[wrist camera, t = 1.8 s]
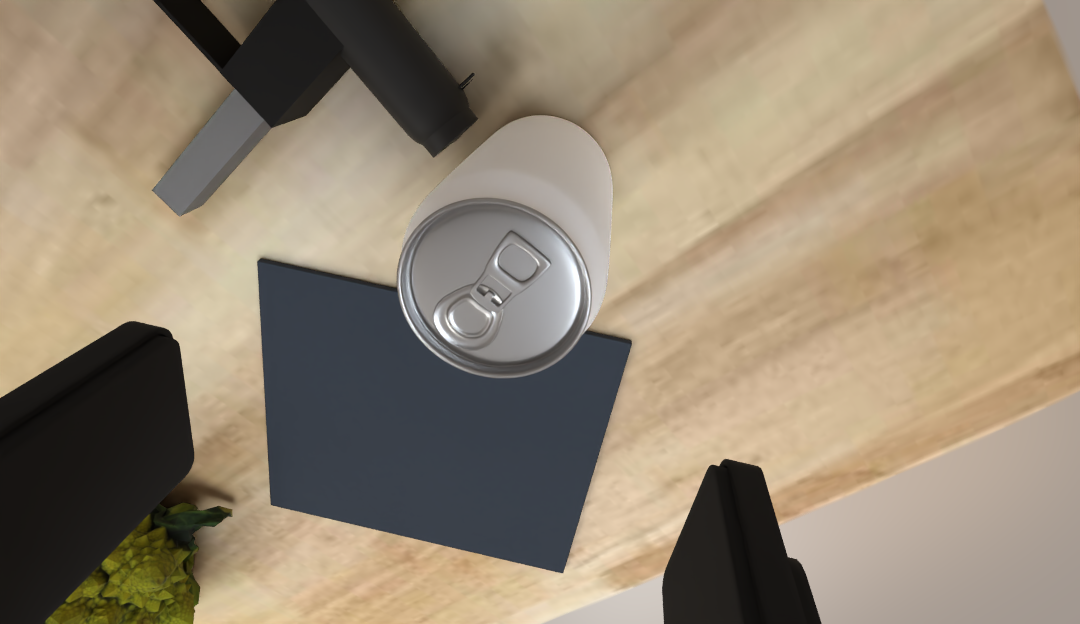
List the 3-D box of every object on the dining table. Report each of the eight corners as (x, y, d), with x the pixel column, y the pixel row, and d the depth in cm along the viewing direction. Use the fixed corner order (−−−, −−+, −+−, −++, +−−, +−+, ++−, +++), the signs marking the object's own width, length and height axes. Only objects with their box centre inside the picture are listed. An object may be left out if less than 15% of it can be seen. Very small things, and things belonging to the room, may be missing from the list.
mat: (273, 500, 39) (270, 505, 39) (260, 258, 31) (257, 260, 30) (563, 568, 38) (562, 573, 38) (631, 340, 30) (631, 343, 30)
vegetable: (220, 503, 34) (-4, 805, 27) (292, 542, 47) (157, 750, 40) (20, 394, 36) (-239, 649, 29) (145, 461, 49) (-10, 646, 42)
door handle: (261, 311, 29) (492, 106, 22) (-114, -45, 24) (41, -466, 17) (296, 282, 32) (511, 93, 25) (-30, -42, 26) (131, -400, 20)
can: (448, 192, 28) (341, 302, 17) (532, 80, 25) (465, 129, 14) (552, 276, 29) (513, 426, 18) (643, 177, 26) (657, 287, 16)
